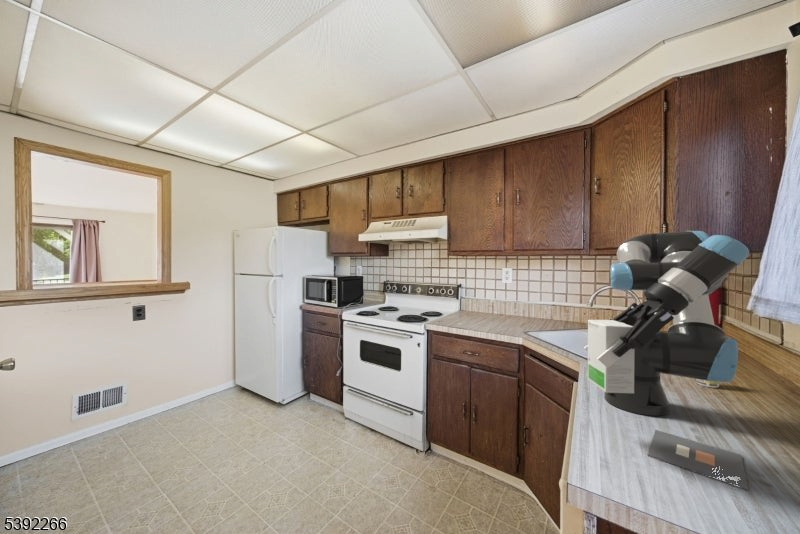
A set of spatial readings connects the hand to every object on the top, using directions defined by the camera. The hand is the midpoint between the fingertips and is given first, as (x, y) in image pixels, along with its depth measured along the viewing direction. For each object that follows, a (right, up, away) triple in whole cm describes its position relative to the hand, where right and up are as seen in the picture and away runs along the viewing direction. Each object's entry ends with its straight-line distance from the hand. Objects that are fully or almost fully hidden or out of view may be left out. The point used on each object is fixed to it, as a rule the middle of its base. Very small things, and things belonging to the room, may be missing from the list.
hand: (594, 357), depth 72 cm
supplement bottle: (+59, -19, +30) cm, 68 cm away
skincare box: (+3, -7, -1) cm, 8 cm away
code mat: (+16, -19, -8) cm, 26 cm away
